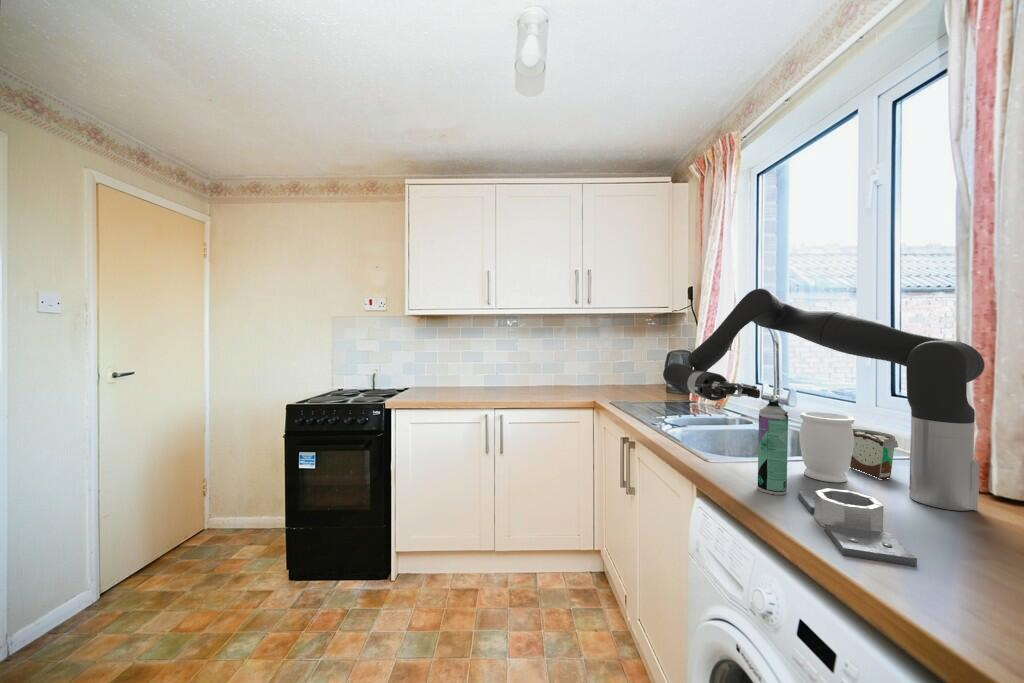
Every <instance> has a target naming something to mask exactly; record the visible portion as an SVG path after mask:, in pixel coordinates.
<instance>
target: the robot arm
mask: <svg viewBox="0 0 1024 683" xmlns="http://www.w3.org/2000/svg"><path fill="white" fill-rule="evenodd" d="M751 322H753V323H754V324H755V325H757V326H759V327H762V328H765V329H769V330H770V329H771V330H774V331H779V332H784V333H788V334H791V335H794V336H798V337H799V338H802V339H803V340H807V341H808V342H811V343H814V344H817V345H819V346H822V347H825V348H828V349H830V350H834V351H837V352H839V353H843V354H847V355H853V356H856V357H861V358H866V359H867V358H868V359H873V360H880V361H886V362H891V363H894V364H897V365H901V366H903V367H906V373H905V374H906V377H905V378H906V379H905V380H906V398H907V402H908V405H909V407H910V410H911V411H910V412H911V413H910V452H909V454H910V455H909V460H910V461H909V485H908V486H909V487H908V489H909V490H908V493H909V494H908V496H909V498H910V499H911V500H914V501H915V502H917V503H920V504H922V505H926V506H929V507H934V508H939V509H942V510H943V509H944V510H949V511H957V512H959V511H960V512H964V511H965V512H967V511H979V494H980V493H979V492H980V491H979V489H980V488H979V487H980V462H978V460H975V459H974V453H975V450H974V449H975V420H976V418H975V416H976V415H975V414H976V413H975V409H974V407H972V406H971V404H970V403H969V400H968V397H967V396H968V395H967V394H968V393H967V390H968V388H967V383H970V382H973V381H974V380H976V379H978V378H979V377H980V376H981V375H982V374H983V373H984V371H985V368H986V367H985V366H986V365H985V359H984V358H983V357H984V356H982V354H981V353H980V352H979V351H978V350H977V349H975V348H974V347H973V346H972V345H969V344H968V343H965V342H961V341H959V340H958V341H957V340H949V339H944V338H943V339H942V338H938V337H931V336H926V335H920V334H915V333H913V332H912V333H911V332H907V331H903V330H900V329H898V328H894V327H892V326H889V325H886V324H883V323H880V322H876V321H874V320H871V319H867V318H864V317H860V316H857V315H854V314H851V313H850V314H849V313H846V312H843V311H837V310H831V309H819V310H818V309H817V310H811V309H810V310H809V309H803V308H800V307H798V306H797V307H796V306H794V305H791V304H789V303H786V302H784V301H783V300H781V299H780V298H778V296H777V295H775V294H774V293H773V292H771V291H770V290H769V289H765V288H762V287H760V288H755V289H752V290H751V291H749V292H748V293H747V294H746V295H745V296H743V298H742V299H741V300H740V301H738V303H737V305H735V307H734V308H733V309H732V310H731V312H730V313H729V314H728V315H727V316H726V317H725V319H724V320H723V321H722V322H721V323H720V325H719V326H718V327H717V328H716V329H715V330H714V332H712V334H710V335H709V337H708V338H706V339H705V340H704V341H703V342H702V343H701V344H700V345H698V346H697V347H696V348H695V349H693V351H692V352H691V353H690V354H689V355H688V356H687V359H688V363H690V365H691V366H692V368H690V367H689V366H687V365H686V364H682V363H680V362H674V363H673V362H672V363H670V364H668V365H667V366H666V367H665V368H664V369H663V372H662V376H663V379H664V381H665V382H666V383H667V384H668V385H670V386H671V387H673V388H674V389H675V390H676V391H678V392H679V393H680V394H682V395H683V394H685V395H686V394H693V395H695V396H697V397H699V398H701V399H705V400H709V401H712V402H717V401H720V400H722V399H727V397H735V398H741V397H743V396H744V397H748V398H753V399H760V397H761V390H760V389H758V386H756V385H751V384H746V383H742V382H741V383H738V382H732V381H728V380H727V378H725V376H724V375H722V374H720V373H716V372H712V371H708V370H710V369H711V368H712V367H714V366H715V365H716V364H717V363H718V362H719V361H720V360H721V359H723V357H724V356H725V355H726V354H727V353H728V351H729V350H730V347H731V346H732V343H733V341H734V340H735V338H736V337H737V335H738V334H739V332H741V330H742V329H743V328H745V327H746V326H747V325H749V324H750V323H751ZM736 392H737V393H736Z"/></svg>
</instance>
